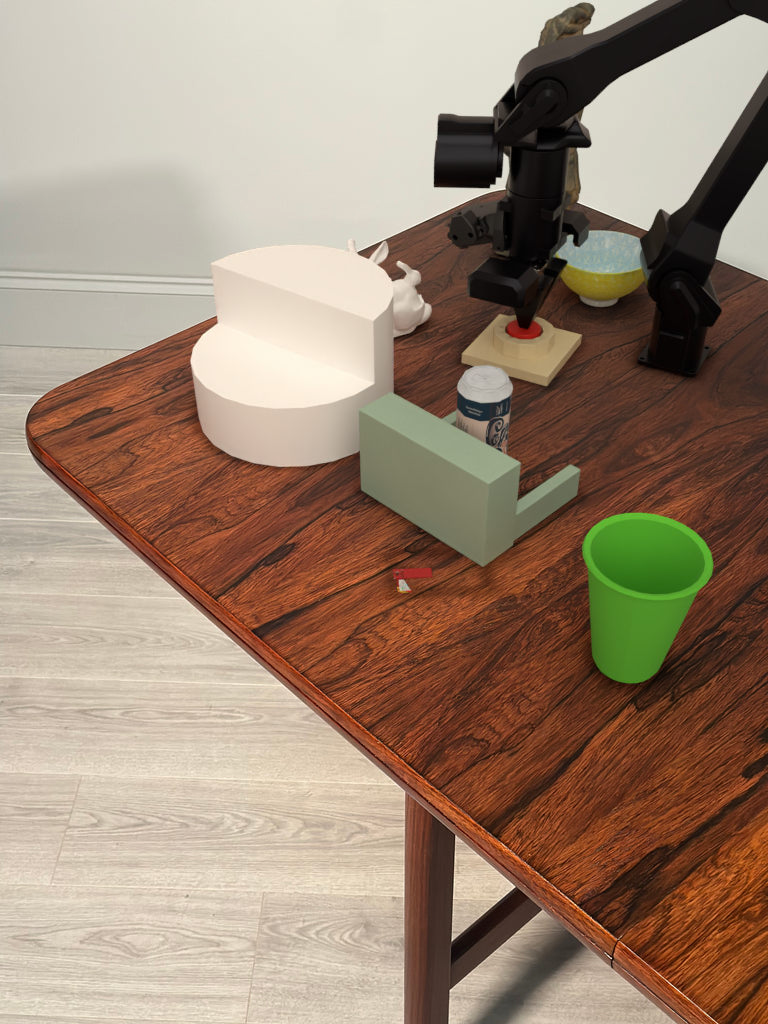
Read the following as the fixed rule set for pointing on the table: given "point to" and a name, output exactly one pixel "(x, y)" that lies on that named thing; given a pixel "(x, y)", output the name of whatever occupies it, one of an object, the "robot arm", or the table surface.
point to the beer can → (485, 405)
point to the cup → (640, 590)
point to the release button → (523, 330)
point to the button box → (523, 350)
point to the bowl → (602, 267)
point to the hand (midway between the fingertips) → (524, 327)
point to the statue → (574, 25)
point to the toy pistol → (410, 573)
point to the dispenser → (451, 479)
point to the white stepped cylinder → (293, 353)
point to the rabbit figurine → (402, 294)
